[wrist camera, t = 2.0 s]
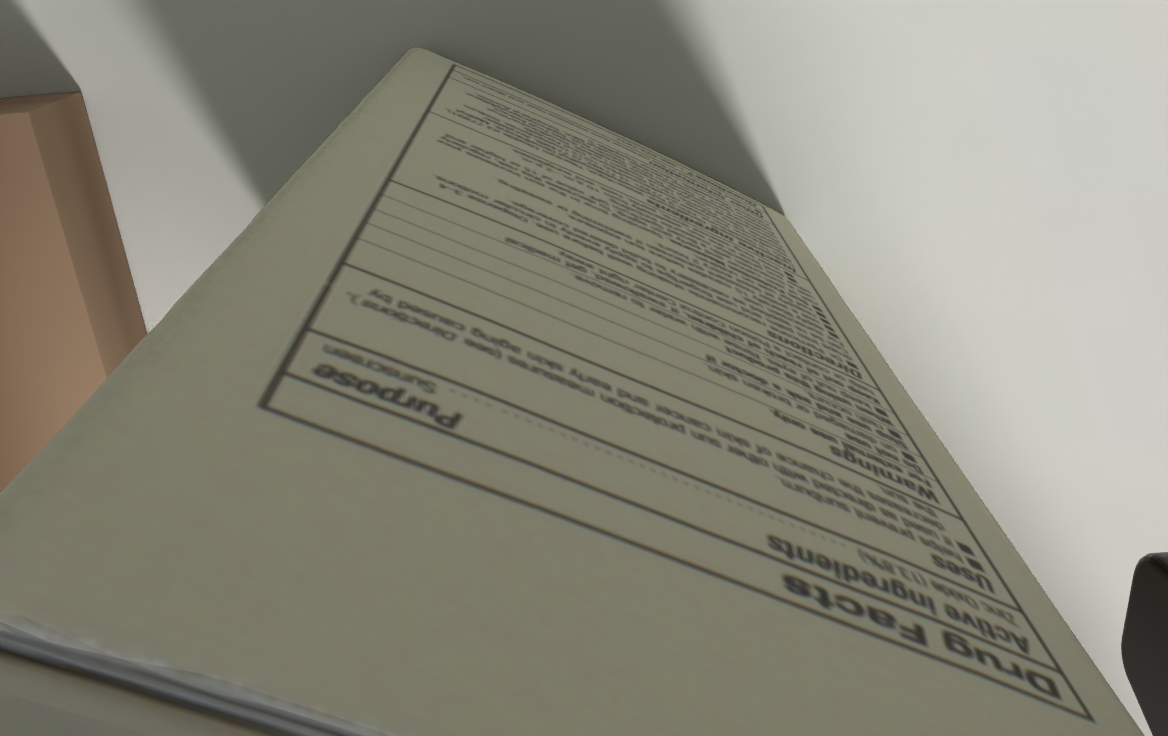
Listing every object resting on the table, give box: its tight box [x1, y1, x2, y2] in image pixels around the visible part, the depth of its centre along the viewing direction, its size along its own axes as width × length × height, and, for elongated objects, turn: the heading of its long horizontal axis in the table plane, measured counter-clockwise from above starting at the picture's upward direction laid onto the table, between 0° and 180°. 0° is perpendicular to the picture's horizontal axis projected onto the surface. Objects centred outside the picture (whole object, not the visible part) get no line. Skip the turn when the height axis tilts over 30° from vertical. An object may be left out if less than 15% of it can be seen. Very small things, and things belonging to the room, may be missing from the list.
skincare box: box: [0, 47, 1144, 736], centre depth 10 cm, size 6×4×12 cm
